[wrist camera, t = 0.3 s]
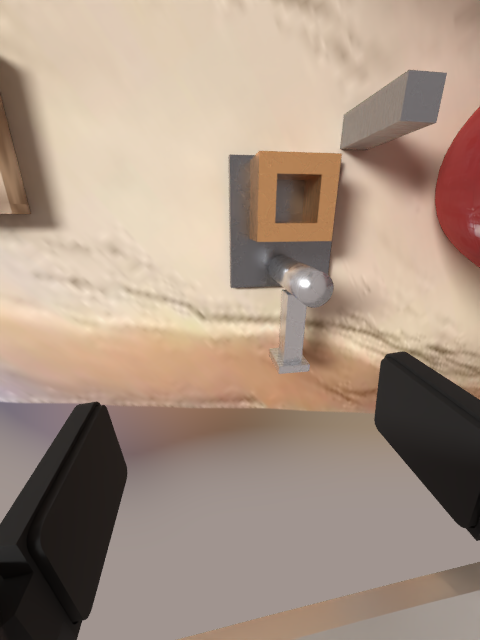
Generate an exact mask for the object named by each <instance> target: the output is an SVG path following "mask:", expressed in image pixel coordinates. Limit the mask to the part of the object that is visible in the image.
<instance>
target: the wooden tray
mask: <svg viewBox="0 0 480 640" xmlns="http://www.w3.org/2000/svg"><path fill="white" fill-rule="evenodd" d="M0 214H31V212H30V208H29V205H28V201H27V197H26V193H25V189H24V185H23V181H22V177H21V173H20V169H19V165H18V161H17V158H16V154H15V150H14V146H13V142H12V138H11V134H10V130H9V126H8V122H7V118H6V115H5V111H4V107H3V103H2V99H1V95H0Z"/></svg>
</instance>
